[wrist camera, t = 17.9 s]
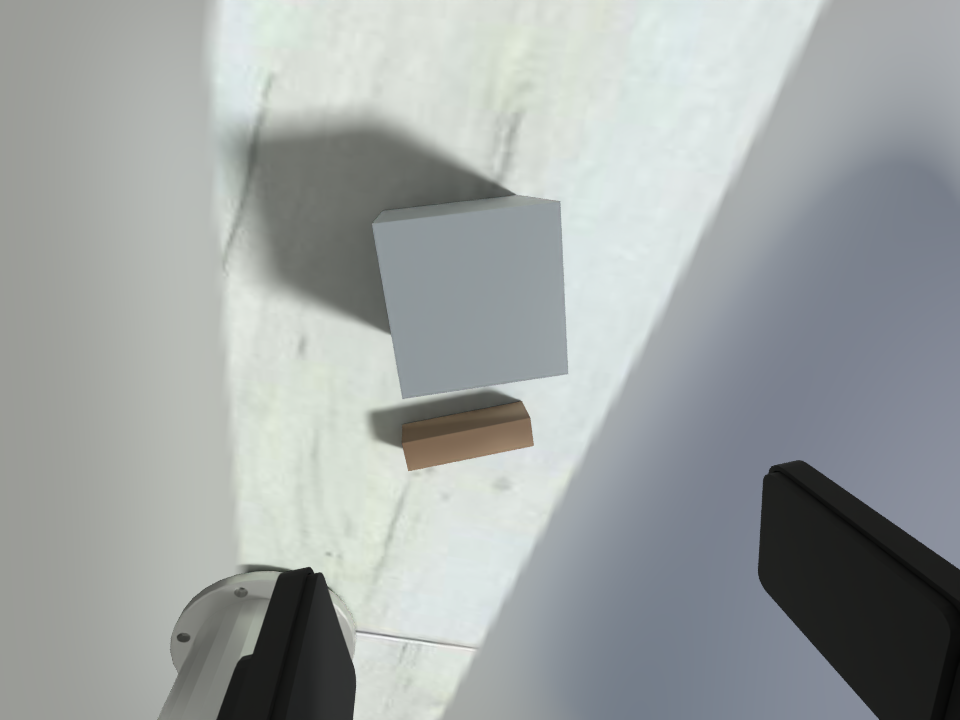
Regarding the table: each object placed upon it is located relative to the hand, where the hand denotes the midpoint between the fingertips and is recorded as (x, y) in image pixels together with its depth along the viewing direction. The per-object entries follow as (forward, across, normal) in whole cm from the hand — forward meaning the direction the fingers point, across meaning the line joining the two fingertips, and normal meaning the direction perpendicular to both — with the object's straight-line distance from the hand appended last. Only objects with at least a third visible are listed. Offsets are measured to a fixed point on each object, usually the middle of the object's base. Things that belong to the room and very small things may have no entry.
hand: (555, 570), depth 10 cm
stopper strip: (+22, +1, +8) cm, 23 cm away
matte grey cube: (+22, -1, -3) cm, 22 cm away
